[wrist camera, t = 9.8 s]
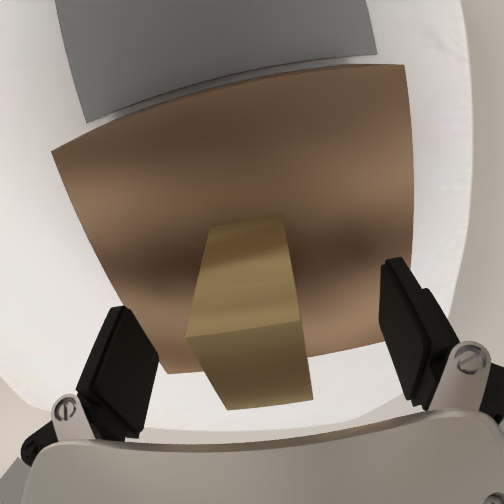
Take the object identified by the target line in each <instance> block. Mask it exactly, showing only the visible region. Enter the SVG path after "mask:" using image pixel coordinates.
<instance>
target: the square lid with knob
mask: <svg viewBox="0 0 504 504" xmlns="http://www.w3.org/2000/svg"><path fill="white" fill-rule="evenodd" d="M51 153H52V155H53V158H54V161H55V163H56V166H57V169H58V171H59V174H60V176H61V179H62V181H63V184H64V186H65V188H66V191H67V193H68V196H69V198H70V200H71V203H72V205H73V207H74V209H75V212H76V214H77V216H78V218H79V220H80V223H81V225H82V227H83V229H84V231H85V233H86V235H87V237H88V239H89V241H90V243H91V245H92V247H93V249H94V251H95V253H96V255H97V257H98V259H99V261H100V263H101V265H102V267H103V269H104V271H105V273H106V274H107V276H108V278H109V280H110V282H111V284H112V285H113V287H114V289H115V291H116V293H117V294H118V296H119V298H120V300H121V301H122V303H123V305H124V306H126V307H127V308H128V309H131V310H132V312H133V314H134V315H135V317H136V319H137V320H138V322H139V324H140V325H141V327H142V329H143V330H144V332H145V333H146V335H147V337H148V338H149V340H150V341H151V343H152V345H153V346H154V348H155V349H156V351H157V353H158V355H159V362H160V364H161V365H162V367H163V368H164V370H165V371H166V372H167V374H177V373H191V372H202V371H204V372H205V374H206V376H207V377H208V379H209V381H210V383H211V384H212V386H213V388H214V389H215V391H216V393H217V394H218V396H219V398H220V399H221V401H222V403H223V404H224V406H225V407H226V409H227V410H237V409H248V408H258V407H266V406H274V405H282V404H289V403H296V402H302V401H308V400H313V393H312V386H311V379H310V372H309V366H308V359H307V357H313V356H318V355H324V354H329V353H334V352H339V351H344V350H348V349H353V348H358V347H362V346H366V345H371V344H375V343H379V342H383V341H385V339H384V337H383V334H382V332H381V329H380V326H379V320H378V316H379V299H380V271H381V265H382V264H385V261H386V259H390V258H395V257H402V258H403V259H404V261H405V262H406V264H407V266H408V267H409V269H410V268H411V255H412V239H413V213H414V170H413V145H412V129H411V117H410V107H409V97H408V89H407V81H406V74H405V67H404V65H395V64H349V65H338V66H329V67H320V68H313V69H305V70H298V71H292V72H286V73H280V74H274V75H269V76H264V77H259V78H254V79H249V80H244V81H240V82H235V83H231V84H227V85H223V86H219V87H215V88H211V89H207V90H204V91H200V92H196V93H193V94H189V95H186V96H183V97H179V98H176V99H173V100H170V101H166V102H163V103H160V104H157V105H154V106H151V107H148V108H146V109H143V110H140V111H137V112H134V113H132V114H129V115H126V116H124V117H121V118H119V119H116V120H114V121H111V122H109V123H107V124H105V125H103V126H100V127H98V128H96V129H94V130H92V131H90V132H88V133H86V134H84V135H82V136H80V137H78V138H76V139H74V140H72V141H70V142H68V143H66V144H64V145H62V146H60V147H58V148H57V149H55V150H53V151H51Z"/></svg>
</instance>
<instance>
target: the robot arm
mask: <svg viewBox="0 0 504 504" xmlns="http://www.w3.org/2000/svg"><path fill="white" fill-rule="evenodd" d="M378 320H379V326H380V329H381V332H382V334H383V337H384V339H385V342H386V345H387V347H388V350H389V353H390V356H391V358H392V361H393V364H394V367H395V369H396V372H397V375H398V378H399V381H400V384H401V387H402V390H403V393H404V396H405V398H406V400H411V402H412V404H413V407H415V406H418V405H422V408H423V410H425V412H420V413H415V414H410V415H407V416H402V417H397V418H393V419H390V420H385V421H381V422H377V423H373V424H368V425H364V426H360V427H354V428H349V429H344V430H339V431H333V432H328V433H322V434H317V435H310V436H303V437H296V438H289V439H279V440H270V441H261V442H247V443H232V444H201V445H200V444H199V445H198V444H197V445H185V444H183V445H181V444H180V445H179V444H149V443H135V442H125V437H127V438H135V439H138V438H139V434H140V432H141V431H142V430H143V428H144V424H145V419H146V415H147V410H148V406H149V401H150V397H151V393H152V388H153V384H154V380H155V376H156V372H157V367H158V363H159V355H158V353H157V351H156V349H155V348H154V346H153V345H152V343H151V341H150V340H149V338H148V337H147V335H146V333H145V332H144V330H143V329H142V327H141V325H140V324H139V322H138V320H137V319H136V317H135V315H134V314H133V312H132V310H131V309H128V308H127V307H126V306H118V307H112V308H111V309H110V310H109V312H108V314H107V317H106V319H105V321H104V323H103V325H102V327H101V330H100V332H99V334H98V336H97V339H96V341H95V343H94V346H93V348H92V350H91V353H90V355H89V357H88V360H87V362H86V364H85V367H84V369H83V372H82V374H81V377H80V379H79V382H78V384H77V387H76V389H75V390H76V391H77V392H78V394H77V396H76V395H74V394H65V395H63V396H61V397H60V398H59V399H58V400H57V401H56V402H55V403H54V405H53V407H52V411H51V417H52V420H51V421H50V422H49V423H47V424H46V425H45V426H43V427H42V428H40V429H39V430H38V431H36V432H35V433H34V434H32V435H31V436H30V437H28V438H27V439H26V440H25V441H24V443H23V445H22V448H21V458H19V457H18V458H17V459H16V460H15V461H14V463H13V464H12V465H11V466H10V468H9V469H8V470H7V472H6V473H5V474H4V475H3V477H2V478H1V479H0V504H504V367H501V366H499V365H496V364H493V363H491V357H490V354H489V352H488V351H487V349H486V348H485V347H484V346H482V345H481V344H479V343H477V342H473V341H464V342H461V343H460V341H459V339H458V337H457V335H456V334H455V332H454V330H453V328H452V326H451V325H450V323H449V321H448V319H447V318H446V316H445V314H444V313H443V311H442V309H441V307H440V306H439V304H438V303H437V301H436V299H435V298H434V296H433V294H432V293H431V291H430V290H429V289H428V288H424V289H422V288H421V286H420V285H419V283H418V281H417V280H416V278H415V277H414V275H413V273H412V272H411V270H410V269H409V267H408V266H407V264H406V262H405V261H404V259H403V258H402V257H395V258H390V259H386V261H385V264H382V265H381V271H380V299H379V316H378ZM487 497H488V498H487Z"/></svg>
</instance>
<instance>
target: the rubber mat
mask: <svg viewBox="0 0 504 504" xmlns="http://www.w3.org/2000/svg"><path fill="white" fill-rule="evenodd" d="M55 3H56V9H57V14H58V19H59V23H60V28H61V33H62V37H63V41H64V46H65V50H66V54H67V58H68V62H69V65H70V69H71V73H72V76H73V80H74V84H75V87H76V91H77V94H78V97H79V101H80V104H81V107H82V110H83V113H84V117H85V120H86V123H88V122H91V121H93V120H95V119H98V118H100V117H102V116H105V115H107V114H109V113H112V112H114V111H117V110H119V109H122V108H125V107H127V106H130V105H132V104H135V103H138V102H140V101H143V100H146V99H149V98H152V97H155V96H158V95H161V94H164V93H167V92H170V91H173V90H176V89H179V88H183V87H186V86H189V85H193V84H196V83H200V82H204V81H207V80H211V79H215V78H219V77H223V76H227V75H231V74H236V73H240V72H245V71H249V70H254V69H259V68H264V67H269V66H275V65H281V64H287V63H293V62H300V61H307V60H315V59H323V58H333V57H344V56H357V55H375V54H377V50H376V44H375V39H374V35H373V30H372V25H371V21H370V17H369V13H368V9H367V5H366V1H365V0H55Z"/></svg>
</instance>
